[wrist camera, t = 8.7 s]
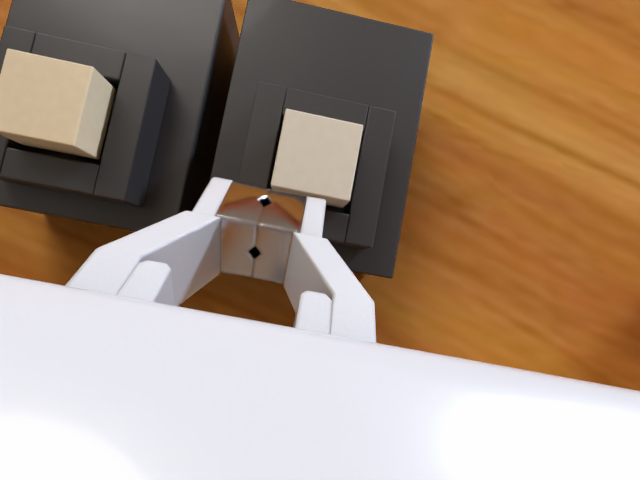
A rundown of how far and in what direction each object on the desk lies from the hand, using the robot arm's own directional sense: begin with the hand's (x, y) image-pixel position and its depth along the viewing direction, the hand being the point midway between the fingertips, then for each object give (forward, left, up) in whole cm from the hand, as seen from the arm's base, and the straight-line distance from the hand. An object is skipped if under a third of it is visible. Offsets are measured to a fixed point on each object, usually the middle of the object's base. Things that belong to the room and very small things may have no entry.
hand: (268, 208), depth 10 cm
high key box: (+5, +9, -12) cm, 15 cm away
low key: (+3, -1, -5) cm, 6 cm away
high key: (+3, +9, -5) cm, 11 cm away
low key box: (+5, -1, -12) cm, 13 cm away
